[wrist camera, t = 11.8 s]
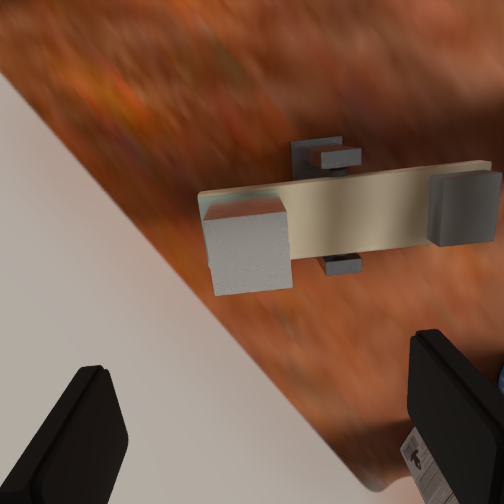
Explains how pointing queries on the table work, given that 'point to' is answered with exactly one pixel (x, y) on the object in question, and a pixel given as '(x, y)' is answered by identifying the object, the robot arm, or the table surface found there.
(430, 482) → the coffee box
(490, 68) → the table surface
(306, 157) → the stand
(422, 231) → the beam
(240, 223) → the block
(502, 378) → the snack cup
